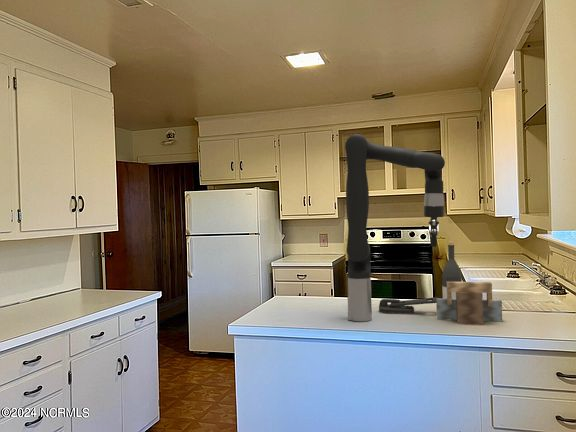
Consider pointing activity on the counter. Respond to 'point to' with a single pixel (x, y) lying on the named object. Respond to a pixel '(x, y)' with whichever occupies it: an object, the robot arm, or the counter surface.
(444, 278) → the wine bottle
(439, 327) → the counter surface
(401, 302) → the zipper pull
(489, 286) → the wooden bridge block
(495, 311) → the grey brown blocky piece
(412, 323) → the counter surface
